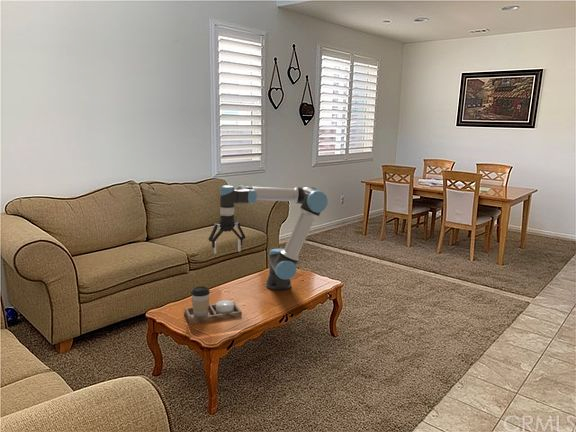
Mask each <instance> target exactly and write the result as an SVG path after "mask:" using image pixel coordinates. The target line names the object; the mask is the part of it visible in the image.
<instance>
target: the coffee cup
mask: <svg viewBox="0 0 576 432" xmlns="http://www.w3.org/2000/svg"><path fill="white" fill-rule="evenodd" d="M190 293H191V304H192V306H191V307H193V313H194V318H195V317H202V316H208V309H209V305H210V293H211V292H210V288H208V287H206V286H196V287H194V288H193V289H192V290H191V292H190Z"/></svg>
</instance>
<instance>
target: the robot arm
mask: <svg viewBox="0 0 576 432" xmlns="http://www.w3.org/2000/svg"><path fill="white" fill-rule="evenodd" d="M219 191H220V192H219V205H220V206H219V207H220V208H219V209H220V210H219V213H220V215H219V221H220V222H219V223H214V224H213V225H214V226H213V229H212V230H211V232H210V235H209V237H208V241H209V242H211V247H212V248H213V254H215V255H217V242H216V241H217V240H218V238H219V237H220V236H221V235H222V234H223V233H224V232H225V233H226V232H231V231H232V232H233V233H234V234H235V235H236V237H237V238H238V239H237V251H238V252H241V247H242V246H243V240H244V239H246V235H245V232H244V231H243V229H242V228H241V223H240V222H239V221H237V222H235V215H234V214H235V204H249V205H250V204H256V202H257V200H258V201H276V202H293V203H295V204H301V205H300V207H299V208H300V210H301V211H300V213H299V216H298V219H297V220H296V223H295V225H294V227H293V230H292V232H291V234H290V236H289V237H288V240H287V242H286V244H285V247H284V248H273V249H269V254H268V255H269V262H268V263H269V267H268V268H269V269H268V272H269V273H268V276H267V279H266V282H265V287H266V288H267V289H269V290H274V291H285V290H288V289H290V288H291V287H292V282H291V281H292V280H291V279H293V278H294V277H295V276H296V274H297V265H298V263H299V261H300V259H299V254H300V252H301V250H302V247H303V245H304V244H305V241H306V239H307V237H308V234H309V232H310V230H311V229H312V226H313V223H314V221H315V220H316V218H318V217H320V215H321V213H322V212H323V211H325V210H326V209H327V207H328V204H329V202H328V201H329V199H328V196H327V195H326V193H324V192H323V191H322V190H320V189H318V188H316V187H313V186H295V187H294V188H288V187H287V188H286V187H268V186H267V187H265V186H249V185H243V184H242V185H238V186H236V189H235V186H233V185H221V186H220V190H219ZM219 227H220V229H218V228H219ZM235 227H237V229H238V231H239V233H240V234H239V233H238V232H237V230H236V229H234V228H235ZM217 230H218V232H217Z"/></svg>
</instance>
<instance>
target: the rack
mask: <svg viewBox="0 0 576 432" xmlns="http://www.w3.org/2000/svg"><path fill="white" fill-rule="evenodd" d="M232 302H233V303H234V312H230V313H223V314H216V303H212V304H209V309H208V316H202V317H195V318H194V313H193V306H189V307H184V314H185V316H186V319H187V322H188V323H189V325H196V324H201V323H208V322H214V321H221V320H229V319H235V318H241V317H242V316H243V315H242V313H243V312H242V311H241V309H240V307H239V306H238V305H237V304H236V302H235V301H232Z"/></svg>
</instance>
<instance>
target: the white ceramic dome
mask: <svg viewBox="0 0 576 432" xmlns="http://www.w3.org/2000/svg"><path fill="white" fill-rule="evenodd" d="M215 304H216V314H223V313H230V312H234V303H233V301H232V300H227V299H226V300H224V299H223V300H219V301H217V302H216V303H215Z"/></svg>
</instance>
